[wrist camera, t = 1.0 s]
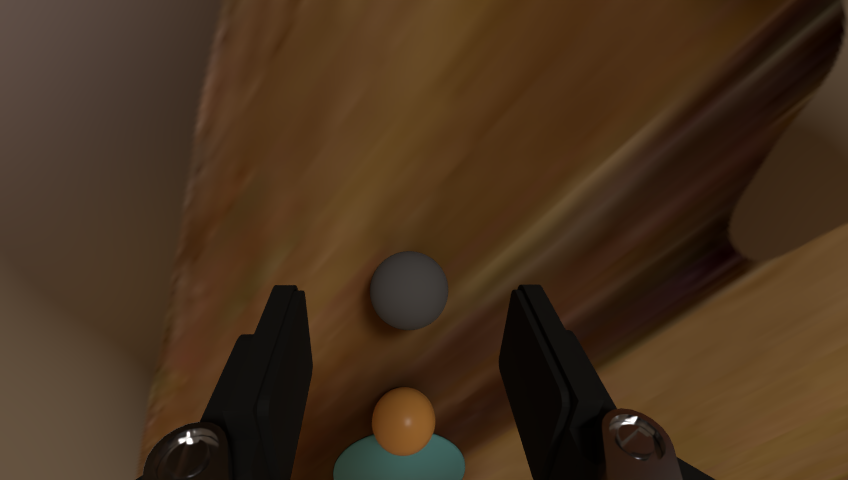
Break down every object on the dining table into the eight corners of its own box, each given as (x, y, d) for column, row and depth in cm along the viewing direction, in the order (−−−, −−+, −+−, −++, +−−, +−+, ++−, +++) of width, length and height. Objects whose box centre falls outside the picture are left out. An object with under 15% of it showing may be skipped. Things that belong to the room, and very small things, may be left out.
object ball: (442, 400, 39) (449, 455, 34) (391, 421, 40) (391, 477, 35) (415, 365, 37) (419, 419, 32) (361, 388, 37) (357, 443, 33)
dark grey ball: (455, 279, 32) (466, 326, 28) (393, 307, 33) (394, 358, 28) (423, 225, 30) (429, 267, 25) (357, 257, 31) (352, 303, 26)
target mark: (484, 481, 46) (485, 483, 46) (376, 521, 49) (376, 523, 48) (428, 411, 40) (428, 413, 40) (306, 460, 42) (306, 462, 42)
